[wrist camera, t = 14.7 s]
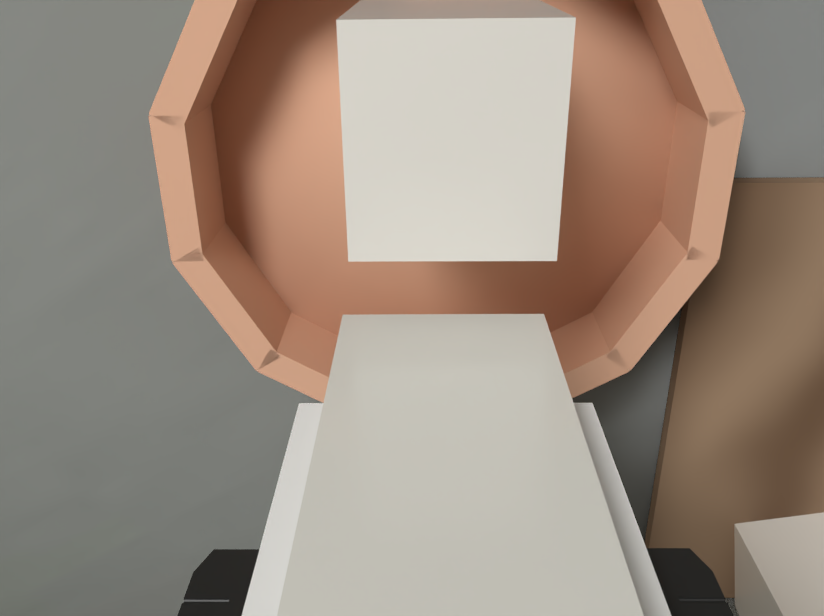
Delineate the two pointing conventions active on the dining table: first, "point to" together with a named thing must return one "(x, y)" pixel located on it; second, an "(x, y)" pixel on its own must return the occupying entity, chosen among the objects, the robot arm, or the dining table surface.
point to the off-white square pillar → (780, 566)
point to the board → (747, 380)
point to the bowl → (442, 280)
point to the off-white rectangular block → (452, 479)
